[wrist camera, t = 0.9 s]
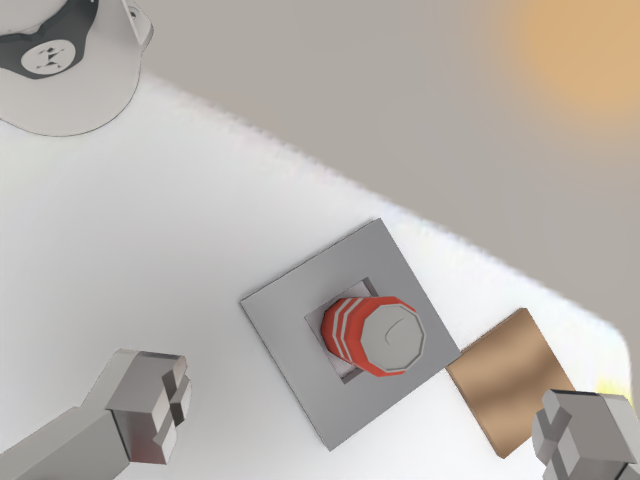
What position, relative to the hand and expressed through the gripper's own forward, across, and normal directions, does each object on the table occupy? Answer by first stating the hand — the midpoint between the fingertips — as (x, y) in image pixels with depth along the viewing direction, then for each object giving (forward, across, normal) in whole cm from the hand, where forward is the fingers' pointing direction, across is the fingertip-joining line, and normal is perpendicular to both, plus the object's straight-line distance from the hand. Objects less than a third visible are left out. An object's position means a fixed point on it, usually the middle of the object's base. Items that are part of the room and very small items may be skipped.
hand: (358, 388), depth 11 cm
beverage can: (+27, 0, +24) cm, 37 cm away
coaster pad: (+28, -17, +31) cm, 45 cm away
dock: (+27, 0, +24) cm, 36 cm away
